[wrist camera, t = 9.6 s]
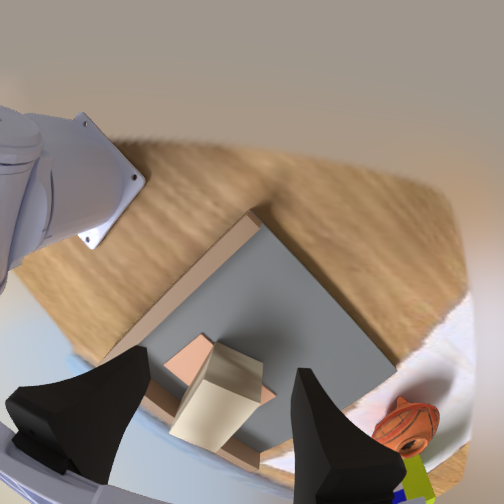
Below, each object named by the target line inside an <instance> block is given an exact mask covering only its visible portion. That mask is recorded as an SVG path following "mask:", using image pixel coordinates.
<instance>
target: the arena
mask: <svg viewBox="0 0 504 504" xmlns="http://www.w3.org/2000/svg"><path fill="white" fill-rule="evenodd" d="M216 341H217V342H219V343H221V344H223V345H225V346H227V347H229V348H231V349H234V350H236V351H238V352H240V353H242V354H244V355H246V356H248V357H251V358H253V359H255V360H257V361H260V362H262V363H263V375H262V391H261V404H260V405H259V406H258V407H257V409H256V410H255V411H254V412H253V413H252V414H251V415H250V416H249V418H248V419H247V420H246V421H245V422H244V423H243V424H242V425H241V426H240V428H239V429H238V430H237V431H236V432H235V433H234V434H233V435H232V436H231V437H230V438H229V439H228V440H227V441H226V442H225V444H224V445H223V446H222V447H221V448H220V449H219V450H218V451H217V452H216V454H218V455H219V456H221V457H223V458H225V459H227V460H228V461H230V462H232V463H234V464H236V465H238V466H239V467H241V468H243V469H245V470H247V471H249V472H254V471H256V470H259V463H260V453H261V452H264V451H266V450H268V449H270V448H272V447H274V446H277V445H279V444H281V443H283V442H285V441H287V440H289V439H291V438H293V434H292V426H291V417H290V409H291V395H292V391H293V386H294V382H295V377H296V373H297V368H311V369H312V371H313V372H314V374H315V376H316V377H317V379H318V381H319V382H320V384H321V386H322V387H323V389H324V390H325V391H326V393H327V394H328V396H329V397H330V398H331V400H332V401H333V402H334V404H335V405H336V406H337V407H338V408H339V410H340V411H341V410H342V409H344V408H346V407H347V406H349V405H350V404H352V403H353V402H355V401H356V400H358V399H359V398H361V397H362V396H364V395H365V394H367V393H368V392H370V391H371V390H373V389H374V388H375V387H377V386H378V385H380V384H381V383H382V382H384V381H385V380H387V379H388V378H389V377H391V376H392V375H393V374H395V373H396V372H397V369H396V367H395V366H394V365H393V363H392V362H391V361H390V360H389V359H388V358H387V357H386V355H385V354H384V353H383V352H382V351H381V350H380V349H379V347H378V346H377V345H376V344H375V343H374V342H373V341H372V339H371V338H370V337H369V336H368V335H367V334H366V333H365V332H364V330H363V329H362V328H361V327H360V326H359V325H358V324H357V323H356V321H355V320H354V319H353V318H352V317H351V316H350V315H349V314H348V313H347V311H346V310H345V309H344V308H343V307H342V306H341V305H340V304H339V303H338V301H337V300H336V299H335V298H334V297H333V296H332V295H331V294H330V293H329V292H328V291H327V289H326V288H325V287H324V286H323V285H322V284H321V283H320V282H319V281H318V280H317V279H316V277H315V276H314V275H313V274H312V273H311V272H310V271H309V270H308V269H307V268H306V267H305V266H304V265H303V263H302V262H301V261H300V260H299V259H298V258H297V257H296V256H295V255H294V254H293V253H292V252H291V251H290V250H289V249H288V248H287V246H286V245H285V244H284V243H283V242H282V241H281V240H280V239H279V238H278V237H277V236H276V235H275V234H274V233H273V232H272V231H271V230H270V229H269V228H268V226H267V225H266V224H265V223H264V222H263V221H262V220H261V219H260V218H259V217H258V216H257V215H256V214H255V213H254V212H253V211H252V210H251V209H249V210H248V211H247V212H246V213H245V214H244V215H243V216H242V217H241V218H240V219H239V220H238V221H237V222H236V223H235V224H234V225H233V226H232V227H231V228H230V229H229V230H228V231H227V232H225V233H224V234H223V235H222V236H221V237H220V238H219V239H218V240H217V241H216V242H215V243H214V244H213V245H212V246H211V247H210V248H209V249H208V250H207V251H206V252H205V253H204V254H203V255H202V256H201V257H200V258H199V259H198V260H197V261H196V262H195V263H194V264H193V265H192V266H191V267H190V268H189V269H188V270H187V271H186V272H185V273H184V274H183V275H182V276H181V277H180V278H179V279H178V280H177V281H176V282H175V283H174V284H173V285H172V286H171V287H170V288H169V289H168V290H167V291H166V292H165V293H164V294H163V295H162V296H161V297H160V298H159V299H158V300H157V301H156V302H155V303H154V304H153V305H152V307H151V308H150V309H149V310H148V311H147V312H146V313H145V314H144V315H143V316H142V317H141V318H140V319H139V320H138V321H137V322H136V323H135V324H134V325H133V326H132V327H131V328H130V329H129V331H128V332H127V333H126V334H125V335H124V336H123V337H122V338H121V339H120V340H119V341H118V342H117V343H116V344H115V345H114V346H113V348H112V349H111V350H110V351H109V352H108V354H107V355H106V356H105V357H104V358H103V360H102V361H101V362H100V363H99V364H98V366H100V365H102V364H104V363H106V362H108V361H109V360H111V359H113V358H115V357H116V356H118V355H120V354H121V353H123V352H125V351H126V350H128V349H130V348H131V347H133V346H135V345H138V346H143V347H147V353H148V361H149V368H150V375H151V380H150V383H149V386H148V388H147V391H146V393H145V396H144V397H143V399H142V401H141V403H143V404H144V405H145V406H146V407H148V408H149V409H150V410H152V411H153V412H154V413H156V414H157V415H158V416H160V417H161V418H162V419H164V420H165V421H167V422H168V423H169V424H171V425H172V424H173V421H174V418H175V416H176V413H177V411H178V408H179V405H180V403H181V400H182V398H183V396H184V394H185V392H186V391H187V389H188V387H189V386H190V384H191V382H192V381H193V379H194V377H195V376H196V374H197V372H198V371H199V369H200V367H201V365H202V364H203V362H204V360H205V359H206V357H207V355H208V354H209V352H210V350H211V349H212V347H213V345H214V344H215V342H216ZM214 453H215V452H214Z"/></svg>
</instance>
